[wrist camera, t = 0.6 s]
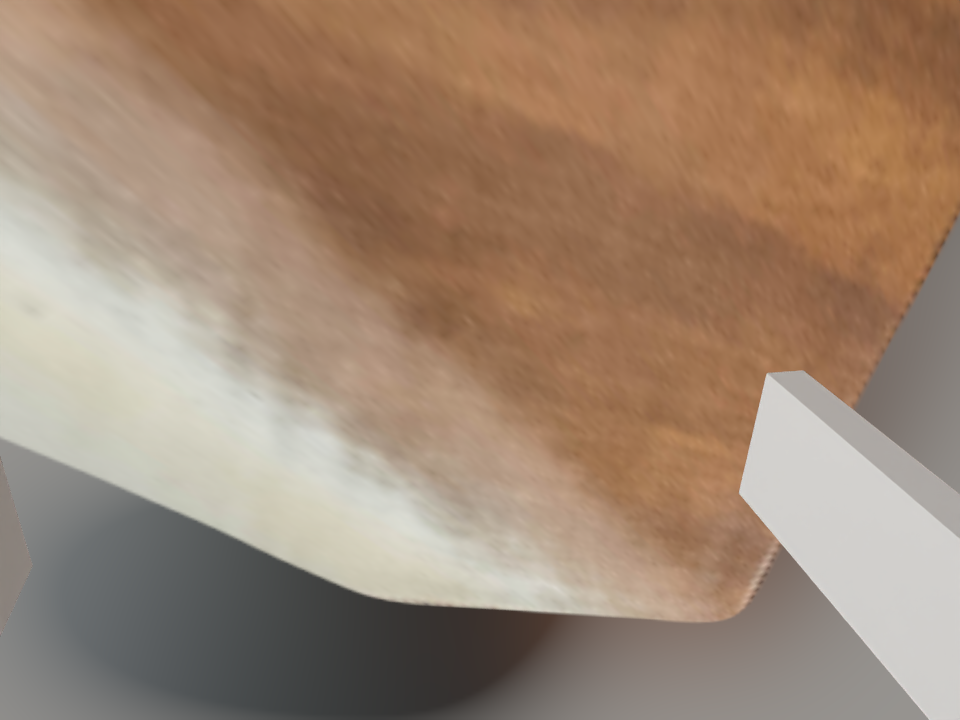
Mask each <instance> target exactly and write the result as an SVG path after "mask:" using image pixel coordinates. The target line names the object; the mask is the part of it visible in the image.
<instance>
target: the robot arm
mask: <svg viewBox="0 0 960 720" xmlns="http://www.w3.org/2000/svg"><path fill="white" fill-rule="evenodd" d="M739 494H740V495H741V496H742V497H743V499H744V500H745V501H746V502H747V503H748V504H749V506H750V507H751V508H752V509H753V510H754V512H755V513H756V514H757V515H758V516H759V518H760V519H761V520H762V521H763V522H764V524H765V525H766V526H767V527H768V528H769V529H770V531H771V532H772V533H773V534H774V535H775V537H776V538H777V539H778V540H779V541H780V543H781V544H782V545H783V546H784V547H785V549H786V550H787V551H788V552H789V553H790V554H791V556H792V557H793V558H794V559H795V560H796V562H797V563H798V564H799V565H800V566H801V567H802V569H803V570H804V571H805V572H806V573H807V575H808V576H809V577H810V578H811V579H812V581H813V582H814V583H815V584H816V585H817V587H818V588H819V589H820V590H821V591H822V593H823V594H824V595H825V596H826V597H827V599H828V600H829V601H830V602H831V603H832V604H833V606H834V607H835V608H836V609H837V610H838V611H839V613H840V614H841V615H842V616H843V618H844V619H845V620H846V621H847V622H848V623H849V625H850V626H851V627H852V628H853V629H854V631H855V632H856V633H857V634H858V635H859V636H860V638H861V639H862V640H863V641H864V643H865V644H866V645H867V646H868V647H869V648H870V650H871V651H872V652H873V653H874V654H875V656H876V657H877V658H878V659H879V660H880V662H881V663H882V664H883V665H884V666H885V668H886V669H887V670H888V671H889V672H890V673H891V675H892V676H893V677H894V678H895V679H896V681H897V682H898V683H899V684H900V685H901V686H902V688H903V689H904V690H905V691H906V692H907V694H908V695H909V696H910V697H911V699H912V700H913V701H914V702H915V703H916V704H917V706H919V708H920V709H921V710H922V711H923V713H924V714H925V715H926V716H927V718H928V719H929V720H960V494H959V493H957V492H956V491H955V490H954V489H952V488H951V487H950V486H949V485H947V484H946V483H945V482H944V481H942V480H941V479H940V478H938V477H937V476H936V475H935V474H933V473H932V472H931V471H930V470H928V469H927V468H926V467H925V466H923V465H922V464H921V463H920V462H918V461H917V460H916V459H915V458H913V457H912V456H911V455H909V454H908V453H907V452H906V451H904V450H903V449H902V448H901V447H899V446H898V445H897V444H895V443H894V442H893V441H891V440H890V439H889V438H888V437H887V436H885V435H884V434H883V433H882V432H880V431H879V430H878V429H877V428H875V427H874V426H873V425H872V424H870V423H869V422H868V421H867V420H865V419H864V418H863V417H861V416H860V415H859V414H858V413H856V412H855V411H854V410H853V409H851V408H850V407H849V406H848V405H846V404H845V403H844V402H842V401H841V400H840V399H839V398H837V397H836V396H835V395H834V394H832V393H831V392H830V391H829V390H827V389H826V388H825V387H824V386H822V385H821V384H820V383H818V382H817V381H816V380H815V379H813V378H812V377H811V376H810V375H808V374H807V373H806V372H805V371H790V372H776V373H767V375H766V379H765V383H764V388H763V392H762V396H761V401H760V405H759V409H758V413H757V418H756V422H755V426H754V431H753V435H752V439H751V443H750V448H749V452H748V456H747V461H746V465H745V469H744V473H743V478H742V482H741V486H740V491H739ZM31 568H32V562H31V559H30V556H29V552H28V549H27V545H26V542H25V539H24V535H23V532H22V528H21V525H20V522H19V518H18V515H17V512H16V508H15V505H14V502H13V498H12V495H11V492H10V488H9V485H8V482H7V478H6V474H5V471H4V468H3V465H2V461H1V458H0V636H1V634H2V631H3V629H4V627H5V625H6V623H7V620H8V618H9V616H10V614H11V612H12V610H13V607H14V605H15V603H16V600H17V599H18V597H19V594H20V592H21V590H22V588H23V586H24V583H25V581H26V579H27V577H28V574H29V573H30V570H31Z"/></svg>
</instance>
